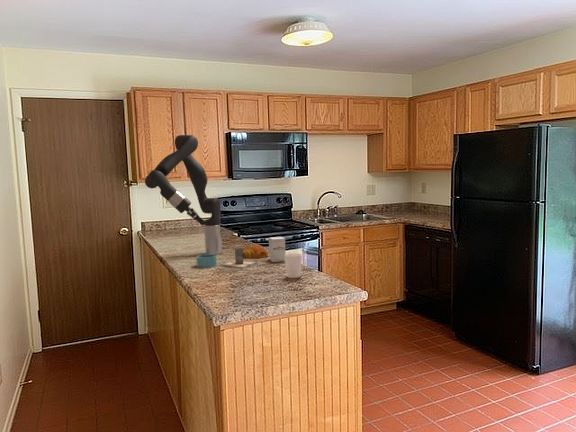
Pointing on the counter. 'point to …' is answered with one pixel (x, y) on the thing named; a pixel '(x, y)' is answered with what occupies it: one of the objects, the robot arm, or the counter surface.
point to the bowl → (206, 260)
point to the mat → (239, 268)
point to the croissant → (254, 252)
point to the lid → (239, 260)
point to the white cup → (293, 265)
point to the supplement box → (276, 249)
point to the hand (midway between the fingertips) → (203, 223)
